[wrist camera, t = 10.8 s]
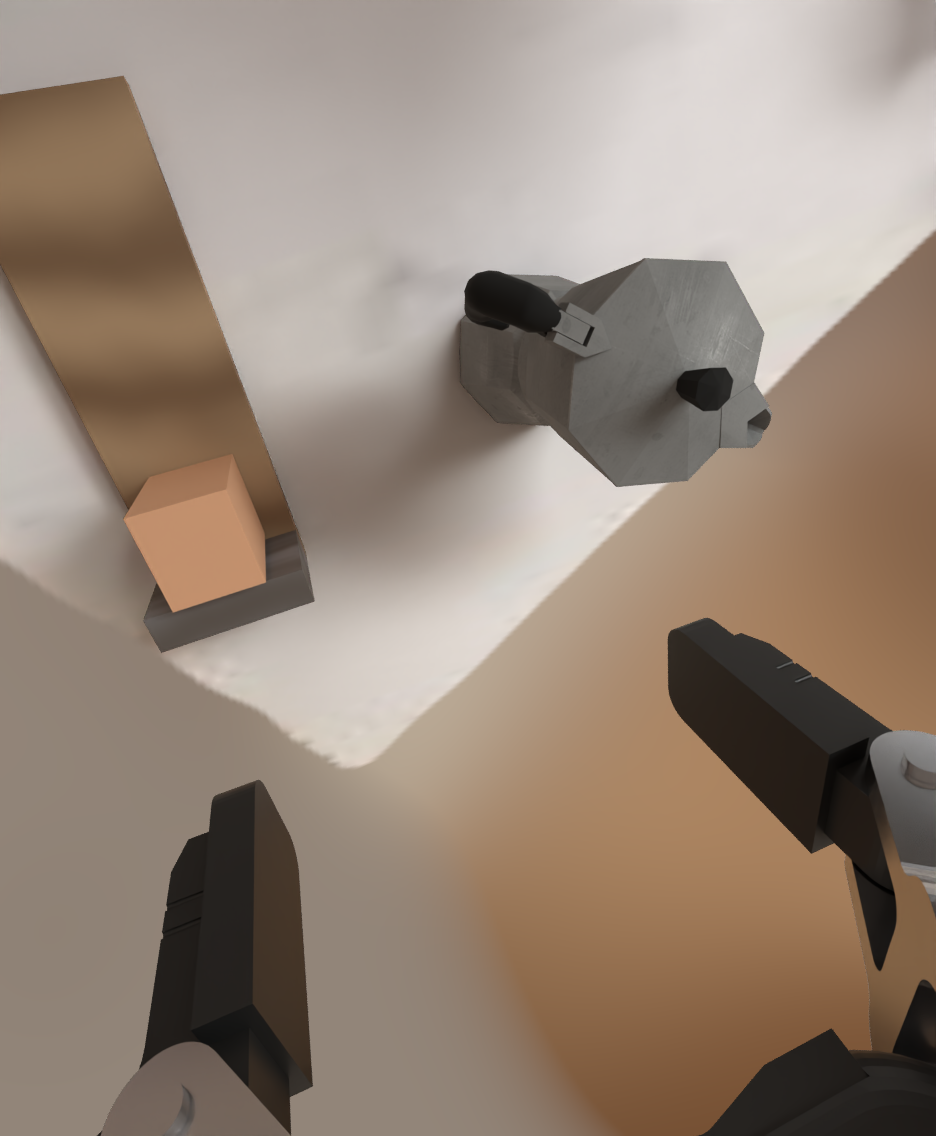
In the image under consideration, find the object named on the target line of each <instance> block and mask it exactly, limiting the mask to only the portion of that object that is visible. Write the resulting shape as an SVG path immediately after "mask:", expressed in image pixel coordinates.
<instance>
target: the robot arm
mask: <svg viewBox="0 0 936 1136" xmlns="http://www.w3.org/2000/svg"><path fill="white" fill-rule="evenodd" d="M668 689H669V695H670V698H671V701H672V704H673V706H674V708H675V710H676V711H677V713H678V714H679V716H680V717H681V718H682V719H683V721H684V722H685V723H686V724H687V725H688V726H689V727H690V728H691V729H692V730H693V731H694V732H695V733H696V734H697V735H698V736H699V737H700V738H701V739H702V740H703V741H704V742H705V743H706V745H707V746H708V747H709V748H710V749H711V750H712V751H713V752H714V753H715V754H716V755H717V756H718V757H719V758H720V759H721V760H722V761H723V762H724V763H725V764H726V765H727V766H728V767H729V768H730V770H732V772H733V773H734V774H735V775H736V776H737V777H738V778H739V779H740V780H741V781H742V782H743V783H744V784H745V785H746V786H747V787H748V788H749V789H750V790H751V791H752V792H753V793H754V794H755V796H756V797H757V798H758V799H759V800H760V801H761V802H762V803H763V804H764V805H765V806H766V807H767V808H768V809H769V810H770V811H771V812H772V813H773V814H774V815H775V816H776V817H777V818H778V819H779V820H780V822H781V823H782V824H783V825H784V826H785V827H786V828H787V829H788V830H789V831H790V832H791V833H792V834H793V835H794V836H795V837H796V838H797V839H798V840H799V841H800V842H801V843H802V844H803V845H804V846H805V847H806V849H807V850H808V851H809V852H810V853H814V852H816V851H818V850H820V849H823V848H825V847H827V846H829V845H831V844H833V843H835V844H836V845H837V846H838V847H839V848H840V849H841V850H842V851H843V852H844V853H845V854H846V856H845V871H846V875H847V880H848V885H849V890H850V895H851V900H852V904H853V909H854V914H855V919H856V924H857V929H858V934H859V938H860V943H861V948H862V953H863V958H864V963H865V968H866V973H867V978H868V985H869V1027H870V1038H871V1045H872V1051H867V1050H849V1051H848V1049H847V1048H846V1047H845V1045H844V1044H843V1043H842V1041H841V1040H840V1039H839V1038H838V1036H837V1035H836V1034H835V1032H834V1031H833V1030H832V1029H829V1030H828V1031H826V1032H824V1033H822V1034H820V1035H819V1036H817V1037H815V1038H813V1039H811V1040H809V1041H808V1042H806V1043H804V1044H802V1045H800V1046H798V1047H797V1048H795V1049H793V1050H791V1051H789V1052H787V1053H785V1054H784V1055H782V1056H780V1057H778V1058H776V1059H774V1060H773V1061H771V1062H769V1063H767V1064H765V1065H764V1066H763V1067H762V1068H761V1069H760V1071H759V1072H758V1073H757V1074H756V1075H755V1077H754V1078H753V1079H752V1080H751V1081H750V1083H749V1084H748V1085H747V1086H746V1087H745V1088H744V1090H743V1091H742V1092H741V1093H740V1094H739V1096H738V1097H737V1098H736V1099H735V1100H734V1102H733V1103H732V1104H731V1105H730V1106H729V1108H728V1109H727V1110H726V1111H725V1112H724V1114H723V1115H722V1116H721V1117H720V1119H719V1120H718V1121H717V1122H716V1123H715V1124H714V1126H713V1127H712V1128H711V1129H710V1130H709V1131H708V1132H706V1133H704V1134H702V1135H699V1136H936V736H935V735H932V734H928V733H923V732H918V731H908V730H902V731H901V730H900V731H892V730H890V729H889V728H887V727H886V726H884V725H883V724H881V723H880V722H879V721H877V720H875V719H874V718H873V717H872V716H870V715H869V714H867V713H866V712H865V711H863V710H862V709H860V708H859V707H858V706H856V705H855V704H853V703H852V702H851V701H849V700H848V699H846V698H845V697H844V696H842V695H841V694H839V693H838V692H836V691H835V690H834V689H832V688H831V687H830V686H828V685H827V684H825V683H824V682H823V681H821V680H820V679H818V678H817V677H814V678H813V677H812V675H811V673H810V672H809V671H807V670H806V669H804V668H803V667H801V666H800V665H799V664H797V663H796V664H794V663H793V661H792V659H790V658H789V657H787V656H786V655H785V654H783V653H782V652H780V651H779V650H778V649H776V648H775V647H773V646H772V645H771V644H769V643H766V642H764V641H761V640H758V639H755V638H753V637H750V636H747V635H744V634H742V633H740V634H737V635H735V636H734V635H733V634H731V633H730V632H728V631H727V630H726V629H725V628H723V627H722V626H720V625H719V624H718V623H717V622H715V621H714V620H712V619H710V618H704V619H701V620H698V621H695V622H692V623H690V624H687V625H684V626H681V627H679V628H676V629H674V630H671V631H670V633H669V636H668ZM166 905H167V911H165V917H164V923H163V930H162V933H163V939H162V940H161V943H160V950H159V957H158V963H157V970H156V977H155V983H154V990H153V997H152V1003H151V1010H150V1016H149V1023H148V1030H147V1037H146V1043H145V1049H144V1054H143V1058H142V1062H141V1065H140V1068H139V1070H138V1071H137V1072H136V1073H135V1075H134V1076H133V1077H132V1078H131V1079H130V1081H129V1082H128V1083H127V1084H126V1086H125V1087H124V1088H123V1090H122V1091H121V1093H120V1094H119V1096H118V1098H117V1099H116V1101H115V1103H114V1104H113V1106H112V1108H111V1110H110V1112H109V1115H108V1117H107V1119H106V1122H105V1124H104V1126H103V1130H102V1131H101V1132H100V1133H99V1134H98V1135H97V1136H291V1123H290V1122H291V1120H290V1097H291V1096H293V1095H295V1094H298V1093H299V1092H302V1091H304V1090H306V1089H308V1088H310V1087H312V1086H313V1083H312V1068H311V1052H310V1037H309V1021H308V1006H307V991H306V975H305V961H304V944H303V929H302V913H301V899H300V883H299V869H298V862H297V857H296V853H295V849H294V845H293V842H292V839H291V837H290V835H289V832H288V830H287V829H286V826H285V824H284V823H283V821H282V819H281V817H280V815H279V813H278V811H277V809H276V807H275V805H274V803H273V801H272V799H271V797H270V795H269V794H268V791H267V789H266V787H265V786H264V784H263V783H262V782H261V781H260V780H256V781H254V782H251V783H248V784H245V785H243V786H240V787H237V788H235V789H232V790H229V791H226V792H224V793H221V794H218V795H216V796H215V797H214V798H213V800H212V806H211V816H210V827H209V832H207V833H204V834H202V835H199V836H196V837H194V838H191V839H189V840H188V841H187V843H186V845H185V847H184V849H183V851H182V853H181V855H180V857H179V858H178V860H177V862H176V864H175V866H174V868H173V870H172V872H171V878H170V884H169V890H168V897H167V904H166Z"/></svg>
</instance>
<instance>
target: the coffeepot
mask: <svg viewBox="0 0 936 1136" xmlns="http://www.w3.org/2000/svg"><path fill="white" fill-rule="evenodd" d="M464 293H465V313H466V316H465V317H464V318H463V319H462V320H461V340H460V350H459V355H460V367H461V373H460V383H461V384H462V385H463V387H464V388H465V389H466V390H467V391H468V392H469V393H470V394H471V395H472V396H473V398H474V399H475V400H476V401H477V402H478V403H479V404H480V405H481V406H482V407H483V408H484V409H485V410H486V411H487V412H488V413H489V415H490V416H491V417H492V418H493V419H494V420H495V421H496V422H497V423H510V424H526V425H543V426H551V427H552V428H553V429H554V430H555V431H556V432H557V433H558V435H559V436H560V437H562V438H563V439H564V440H565V441H566V442H567V443H568V444H569V445H571V446H572V447H573V448H574V449H575V450H576V451H577V452H578V453H580V454H581V455H582V456H583V457H584V458H585V459H586V460H587V461H589V462H590V463H591V464H592V465H593V466H594V467H595V468H596V469H598V470H599V471H600V472H601V473H602V474H603V475H604V476H605V477H607V478H608V479H609V480H610V481H611V482H612V483H613V484H614V485H615V486H616V487H621V486H633V485H644V484H656V483H667V482H679V481H688V479H689V478H690V477H692V475H693V474H694V473H695V472H696V471H697V470H698V469H699V468H700V467H701V466H702V465H703V464H704V463H705V462H706V461H707V460H708V459H709V458H710V457H711V456H712V455H713V454H714V453H715V452H716V450H718V449H719V448H753V447H754V446H755V445H757V443H758V442H759V441H760V440H761V438H762V433H763V432H764V430H765V429H766V428H767V427H768V425H769V423H770V420H771V415H772V412H771V410H770V409H769V408H768V407H769V405H768V403H767V402H766V400H765V399H764V397H763V395H762V394H761V392H760V391H759V389H758V388H757V386H756V385H755V383H754V379H755V374H756V370H757V365H758V360H759V355H760V351H761V346H762V341H763V336H764V331H763V330H762V328H761V326H760V324H759V322H758V320H757V318H756V317H755V315H754V313H753V311H752V309H751V307H750V305H749V303H748V302H747V300H746V298H745V296H744V294H743V292H742V290H741V289H740V287H739V285H738V283H737V281H736V279H735V277H734V275H733V274H732V272H731V270H730V268H729V266H728V264H727V262H720V261H696V260H673V259H650V258H644V259H642V260H641V261H639V262H636V263H634V264H631V265H629V266H626V267H624V268H621V269H618V270H616V271H613V272H611V273H608V274H606V275H603V276H600V277H598V278H595V279H593V280H590V281H588V282H585V283H583V284H578V283H575V282H572V281H570V280H567V279H564V278H561V277H559V276H541V275H508V274H504V273H501V272H498V271H485V272H480V273H477V274H475V275H474V276H473V277H472V278H471V279H470V280H469V281H468V283H467V285H466V288H465V291H464Z"/></svg>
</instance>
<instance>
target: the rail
mask: <svg viewBox="0 0 936 1136" xmlns="http://www.w3.org/2000/svg"><path fill="white" fill-rule="evenodd" d="M0 265H1V267H2V269H3V270H4V272H5V274H6V276H7V278H8V280H9V282H10V284H11V286H12V288H13V290H14V292H15V293H16V295H17V297H18V299H19V301H20V303H21V305H22V307H23V309H24V311H25V313H26V314H27V316H28V318H29V320H30V322H31V324H32V326H33V328H34V330H35V332H36V334H37V336H38V337H39V339H40V341H41V343H42V345H43V347H44V349H45V351H46V353H47V355H48V357H49V358H50V360H51V362H52V364H53V366H54V368H55V370H56V372H57V374H58V376H59V378H60V380H61V381H62V383H63V385H64V387H65V389H66V391H67V393H68V395H69V397H70V399H71V401H72V403H73V404H74V406H75V408H76V410H77V412H78V414H79V416H80V418H81V420H82V422H83V424H84V425H85V427H86V429H87V431H88V433H89V435H90V437H91V439H92V441H93V443H94V445H95V447H96V448H97V450H98V452H99V454H100V456H101V458H102V460H103V462H104V464H105V466H106V468H107V470H108V471H109V473H110V475H111V477H112V479H113V481H114V483H115V485H116V487H117V489H118V491H119V492H120V494H121V496H122V498H123V500H124V502H125V504H126V506H127V508H128V510H129V509H130V507H131V506H132V504H133V502H134V501H135V499H136V498H137V496H138V494H139V493H140V491H141V489H142V488H143V486H144V485H145V483H146V481H147V480H148V478H149V477H151V476H154V475H158V474H162V473H165V472H169V471H172V470H176V469H179V468H183V467H187V466H190V465H194V464H197V463H201V462H205V461H208V460H212V459H215V458H219V457H222V456H226V455H230V454H233V457H234V459H235V462H236V464H237V467H238V469H239V471H240V474H241V476H242V479H243V481H244V484H245V486H246V489H247V491H248V493H249V496H250V498H251V501H252V503H253V506H254V508H255V511H256V513H257V515H258V518H259V520H260V523H261V525H262V528H263V530H264V533H265V562H266V583H263V584H260V585H257V586H254V587H250V588H247V589H244V590H241V591H238V592H235V593H232V594H229V595H226V596H223V597H220V598H216V599H213V600H210V601H207V602H204V603H201V604H198V605H195V606H192V607H189V608H186V609H182V610H179V611H176V612H172V610H171V608H170V606H169V604H168V602H167V600H166V599H165V597H164V595H163V593H162V591H161V589H160V587H159V585H158V583H157V584H156V587H155V589H154V592H153V595H152V598H151V601H150V603H149V606H148V609H147V612H146V614H145V617H144V620H143V621H144V623H145V625H146V627H147V628H148V630H149V632H150V634H151V635H152V637H153V639H154V641H155V642H156V644H157V646H158V648H159V650H160V651H161V653H162V652H165V651H168V650H171V649H174V648H177V647H180V646H183V645H186V644H189V643H192V642H195V641H198V640H201V639H204V638H207V637H210V636H213V635H216V634H219V633H222V632H225V631H228V630H231V629H234V628H237V627H240V626H243V625H246V624H249V623H252V622H255V621H257V620H260V619H263V618H266V617H269V616H272V615H275V614H278V613H281V612H284V611H287V610H290V609H293V608H296V607H299V606H302V605H305V604H308V603H311V602H314V596H313V591H312V585H311V580H310V574H309V569H308V563H307V558H306V552H305V549H304V546H303V544H302V541H301V539H300V536H299V533H298V531H297V528H296V525H295V523H294V520H293V517H292V515H291V512H290V509H289V507H288V504H287V502H286V499H285V496H284V494H283V491H282V488H281V486H280V483H279V480H278V478H277V475H276V472H275V470H274V467H273V465H272V462H271V459H270V457H269V454H268V451H267V449H266V446H265V443H264V441H263V438H262V435H261V433H260V430H259V428H258V425H257V422H256V420H255V417H254V414H253V412H252V409H251V406H250V404H249V401H248V399H247V396H246V393H245V391H244V388H243V385H242V383H241V380H240V377H239V375H238V372H237V369H236V367H235V364H234V362H233V359H232V356H231V354H230V351H229V348H228V346H227V343H226V340H225V338H224V335H223V332H222V330H221V327H220V325H219V322H218V319H217V317H216V314H215V311H214V309H213V306H212V303H211V301H210V298H209V295H208V293H207V290H206V288H205V285H204V282H203V280H202V277H201V274H200V272H199V269H198V266H197V264H196V261H195V258H194V256H193V253H192V251H191V248H190V245H189V243H188V240H187V237H186V235H185V232H184V229H183V227H182V224H181V222H180V219H179V216H178V214H177V211H176V208H175V206H174V203H173V200H172V198H171V195H170V192H169V190H168V187H167V185H166V182H165V179H164V177H163V174H162V171H161V169H160V166H159V163H158V161H157V158H156V155H155V153H154V150H153V148H152V145H151V142H150V140H149V137H148V134H147V132H146V129H145V126H144V124H143V121H142V118H141V116H140V113H139V111H138V108H137V105H136V103H135V100H134V97H133V95H132V92H131V89H130V87H129V84H128V83H127V81H126V79H125V78H124V76H120V77H113V78H107V79H100V80H94V81H87V82H80V83H74V84H67V85H61V86H54V87H48V88H41V89H35V90H28V91H21V92H15V93H8V94H2V95H0Z"/></svg>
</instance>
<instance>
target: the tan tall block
mask: <svg viewBox="0 0 936 1136" xmlns="http://www.w3.org/2000/svg"><path fill="white" fill-rule="evenodd" d="M124 521H125V523H126V525H127V527H128V529H129V531H130V533H131V535H132V536H133V538H134V540H135V542H136V544H137V546H138V548H139V550H140V551H141V553H142V555H143V557H144V559H145V561H146V563H147V565H148V567H149V568H150V570H151V572H152V574H153V576H154V578H155V580H156V582H157V583H158V585H159V587H160V589H161V591H162V593H163V595H164V597H165V599H166V600H167V602H168V604H169V606H170V608H171V610H172V612H176V611H179V610H182V609H186V608H189V607H192V606H195V605H198V604H201V603H204V602H207V601H210V600H213V599H216V598H220V597H223V596H226V595H229V594H232V593H235V592H238V591H241V590H244V589H247V588H250V587H254V586H257V585H260V584H263V583H266V562H265V533H264V530H263V528H262V525H261V523H260V520H259V518H258V515H257V513H256V511H255V508H254V506H253V503H252V501H251V498H250V496H249V493H248V491H247V489H246V486H245V484H244V481H243V479H242V476H241V474H240V471H239V469H238V467H237V464H236V462H235V459H234V457H233V454H230V455H226V456H222V457H219V458H215V459H212V460H208V461H205V462H201V463H197V464H194V465H190V466H187V467H183V468H179V469H176V470H172V471H169V472H165V473H162V474H158V475H154V476H151V477H149V478H148V480H147V481H146V483H145V485H144V486H143V488H142V489H141V491H140V493H139V494H138V496H137V498H136V499H135V501H134V502H133V504H132V506H131V507H130V509H129V511H128V512H127V514H126V516H125V517H124Z"/></svg>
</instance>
